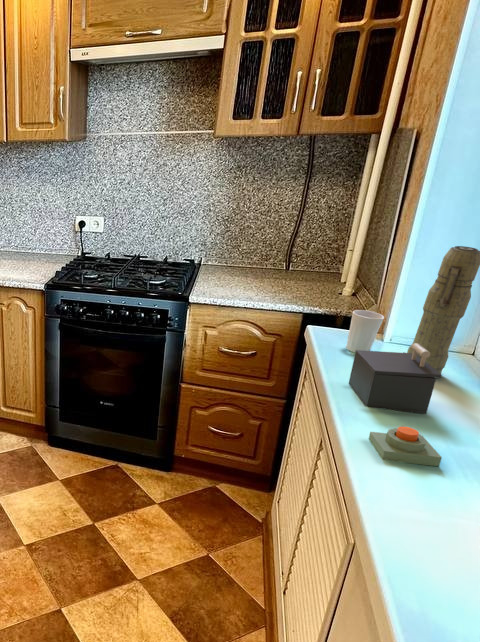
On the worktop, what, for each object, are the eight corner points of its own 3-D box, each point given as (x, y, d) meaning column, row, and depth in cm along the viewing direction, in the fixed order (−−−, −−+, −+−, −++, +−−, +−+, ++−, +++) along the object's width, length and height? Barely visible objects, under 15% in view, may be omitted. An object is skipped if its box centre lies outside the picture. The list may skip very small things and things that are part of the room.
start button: (412, 434, 111) (414, 427, 110) (420, 443, 107) (422, 436, 107) (392, 432, 112) (394, 425, 111) (399, 441, 108) (401, 434, 108)
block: (421, 445, 113) (425, 429, 112) (439, 466, 106) (444, 449, 105) (368, 440, 116) (372, 424, 114) (382, 460, 109) (386, 443, 107)
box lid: (414, 356, 135) (419, 338, 133) (440, 378, 122) (446, 358, 121) (355, 352, 138) (358, 335, 136) (374, 373, 126) (378, 354, 124)
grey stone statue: (443, 368, 150) (489, 247, 136) (439, 382, 141) (488, 254, 128) (405, 359, 155) (446, 241, 142) (399, 372, 147) (442, 248, 133)
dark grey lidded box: (402, 389, 138) (411, 356, 135) (426, 414, 126) (436, 378, 123) (348, 385, 141) (355, 353, 138) (366, 408, 129) (374, 374, 126)
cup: (378, 356, 159) (390, 319, 155) (352, 355, 159) (363, 318, 155) (362, 345, 167) (373, 310, 162) (336, 345, 167) (347, 309, 162)
